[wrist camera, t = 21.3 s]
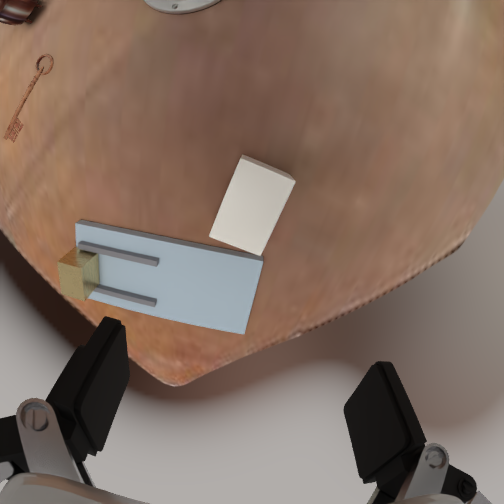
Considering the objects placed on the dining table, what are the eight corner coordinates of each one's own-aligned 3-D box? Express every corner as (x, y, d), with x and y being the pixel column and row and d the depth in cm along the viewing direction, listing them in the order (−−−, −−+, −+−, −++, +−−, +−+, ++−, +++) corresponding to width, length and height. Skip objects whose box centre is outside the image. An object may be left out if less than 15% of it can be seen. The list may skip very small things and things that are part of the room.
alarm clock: (11, 13, 18) (-45, 2, 5) (28, -9, 17) (-26, -26, 3) (33, 31, 22) (-32, 18, 8) (52, 6, 20) (-10, -15, 7)
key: (19, 149, 30) (65, 67, 26) (15, 151, 30) (62, 66, 25) (1, 131, 28) (45, 50, 24) (-2, 132, 27) (42, 50, 23)
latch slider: (75, 246, 34) (57, 261, 30) (98, 252, 35) (81, 268, 30) (77, 277, 36) (61, 293, 32) (99, 283, 37) (84, 301, 32)
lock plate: (80, 219, 34) (71, 225, 32) (263, 256, 37) (263, 265, 34) (84, 290, 39) (77, 299, 37) (244, 327, 41) (243, 338, 39)
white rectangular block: (242, 154, 32) (240, 158, 27) (289, 174, 33) (295, 181, 28) (214, 221, 35) (208, 236, 30) (259, 239, 36) (260, 256, 31)
